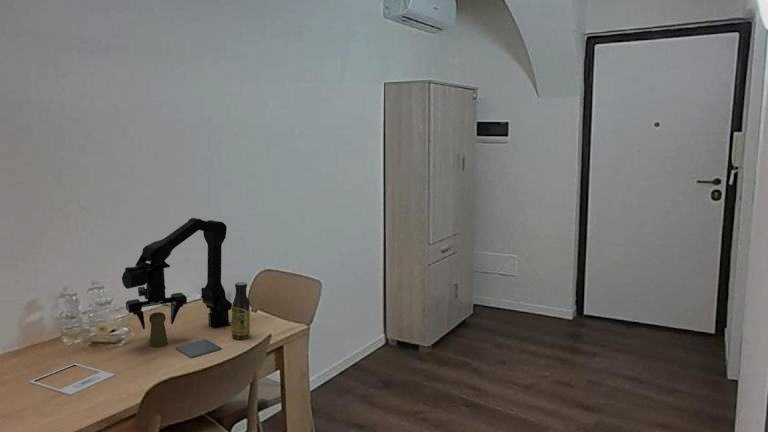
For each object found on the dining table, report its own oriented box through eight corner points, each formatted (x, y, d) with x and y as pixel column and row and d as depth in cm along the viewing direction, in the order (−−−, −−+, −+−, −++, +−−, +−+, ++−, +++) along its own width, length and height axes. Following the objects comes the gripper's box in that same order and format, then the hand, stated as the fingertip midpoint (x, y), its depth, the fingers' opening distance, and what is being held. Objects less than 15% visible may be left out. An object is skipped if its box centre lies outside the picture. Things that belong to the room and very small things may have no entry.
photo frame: (70, 393, 161) (29, 380, 169) (70, 397, 161) (29, 384, 169) (115, 373, 174) (74, 362, 182) (115, 377, 174) (75, 366, 182)
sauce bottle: (228, 338, 205) (226, 284, 202) (238, 333, 211) (237, 279, 208) (243, 341, 203) (242, 286, 200) (254, 335, 208) (252, 281, 205)
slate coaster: (205, 340, 203) (205, 339, 203) (221, 349, 195) (221, 347, 195) (175, 348, 195) (175, 347, 195) (191, 358, 188) (191, 356, 187)
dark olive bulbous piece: (171, 341, 202) (169, 310, 200) (163, 347, 196) (161, 316, 194) (154, 340, 203) (152, 310, 201) (145, 347, 197) (144, 315, 195)
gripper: (177, 273, 208) (179, 315, 210) (121, 280, 197) (123, 324, 200) (186, 280, 199) (188, 324, 201) (128, 288, 188) (130, 334, 191)
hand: (158, 326), depth 198 cm, fingers open, 9 cm apart
